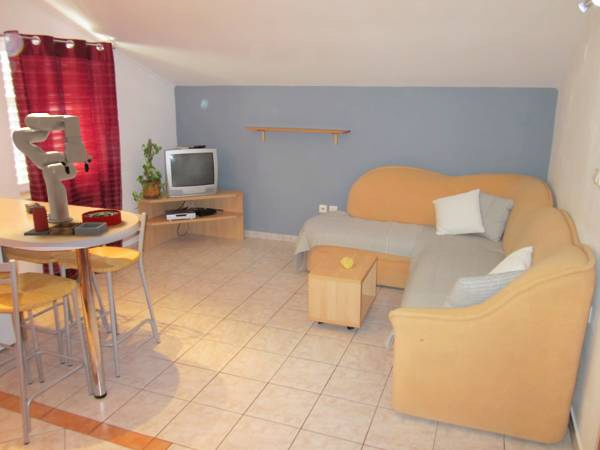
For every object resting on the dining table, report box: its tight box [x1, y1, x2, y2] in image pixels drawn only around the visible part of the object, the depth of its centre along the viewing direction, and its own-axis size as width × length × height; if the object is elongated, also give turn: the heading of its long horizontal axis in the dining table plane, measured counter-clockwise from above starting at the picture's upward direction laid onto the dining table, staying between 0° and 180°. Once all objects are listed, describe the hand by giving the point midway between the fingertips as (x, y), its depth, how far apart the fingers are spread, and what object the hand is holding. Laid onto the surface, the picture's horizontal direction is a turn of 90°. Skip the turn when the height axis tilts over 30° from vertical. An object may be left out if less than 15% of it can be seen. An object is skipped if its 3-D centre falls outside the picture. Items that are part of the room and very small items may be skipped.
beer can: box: [31, 205, 50, 231], centre depth 262 cm, size 7×7×12 cm
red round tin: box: [81, 208, 123, 228], centre depth 280 cm, size 20×6×20 cm
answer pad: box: [23, 226, 52, 236], centre depth 263 cm, size 12×12×1 cm
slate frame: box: [74, 223, 108, 236], centre depth 262 cm, size 12×12×4 cm
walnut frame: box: [49, 222, 83, 236], centre depth 262 cm, size 12×12×4 cm
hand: (77, 172), depth 270 cm, fingers open, 9 cm apart
